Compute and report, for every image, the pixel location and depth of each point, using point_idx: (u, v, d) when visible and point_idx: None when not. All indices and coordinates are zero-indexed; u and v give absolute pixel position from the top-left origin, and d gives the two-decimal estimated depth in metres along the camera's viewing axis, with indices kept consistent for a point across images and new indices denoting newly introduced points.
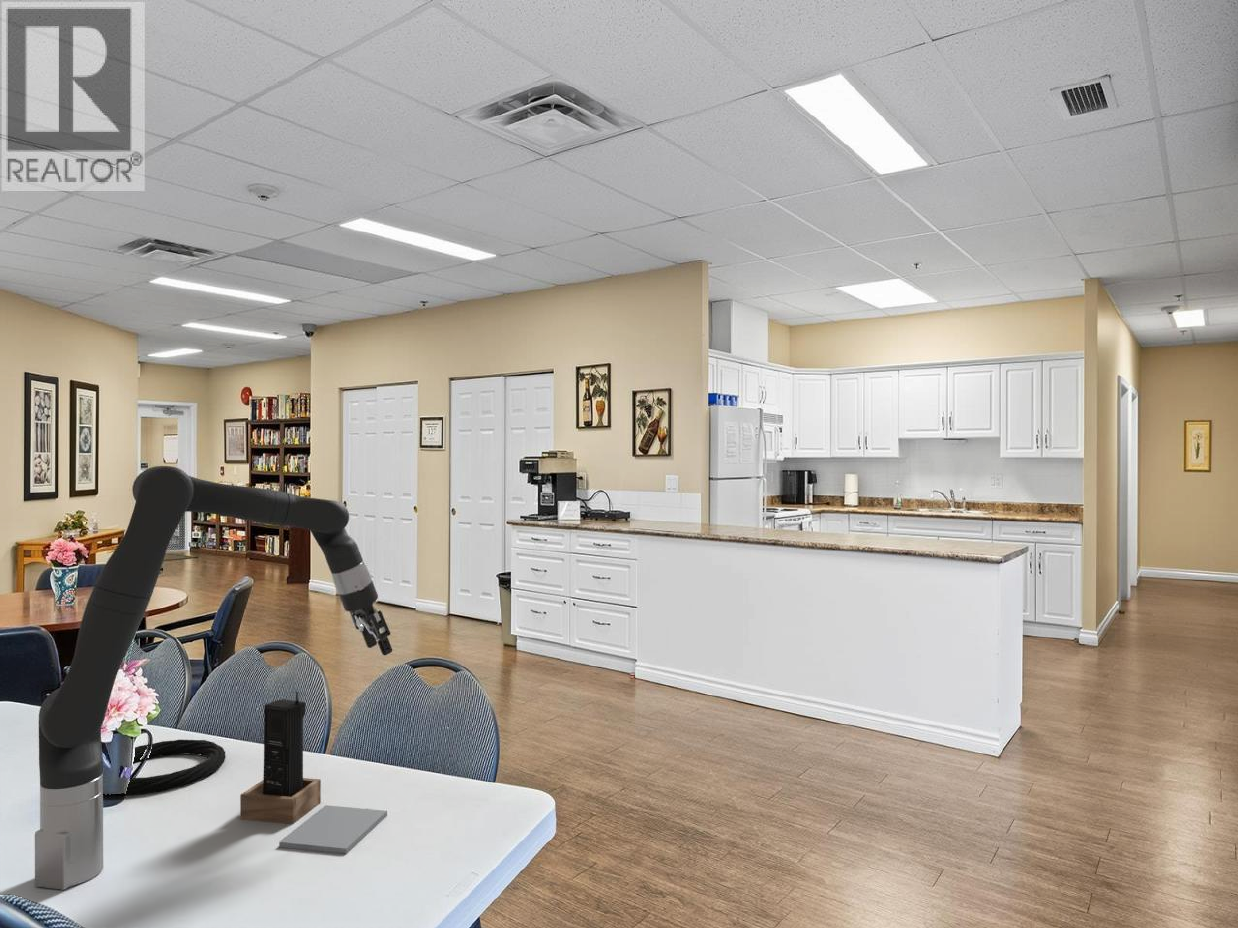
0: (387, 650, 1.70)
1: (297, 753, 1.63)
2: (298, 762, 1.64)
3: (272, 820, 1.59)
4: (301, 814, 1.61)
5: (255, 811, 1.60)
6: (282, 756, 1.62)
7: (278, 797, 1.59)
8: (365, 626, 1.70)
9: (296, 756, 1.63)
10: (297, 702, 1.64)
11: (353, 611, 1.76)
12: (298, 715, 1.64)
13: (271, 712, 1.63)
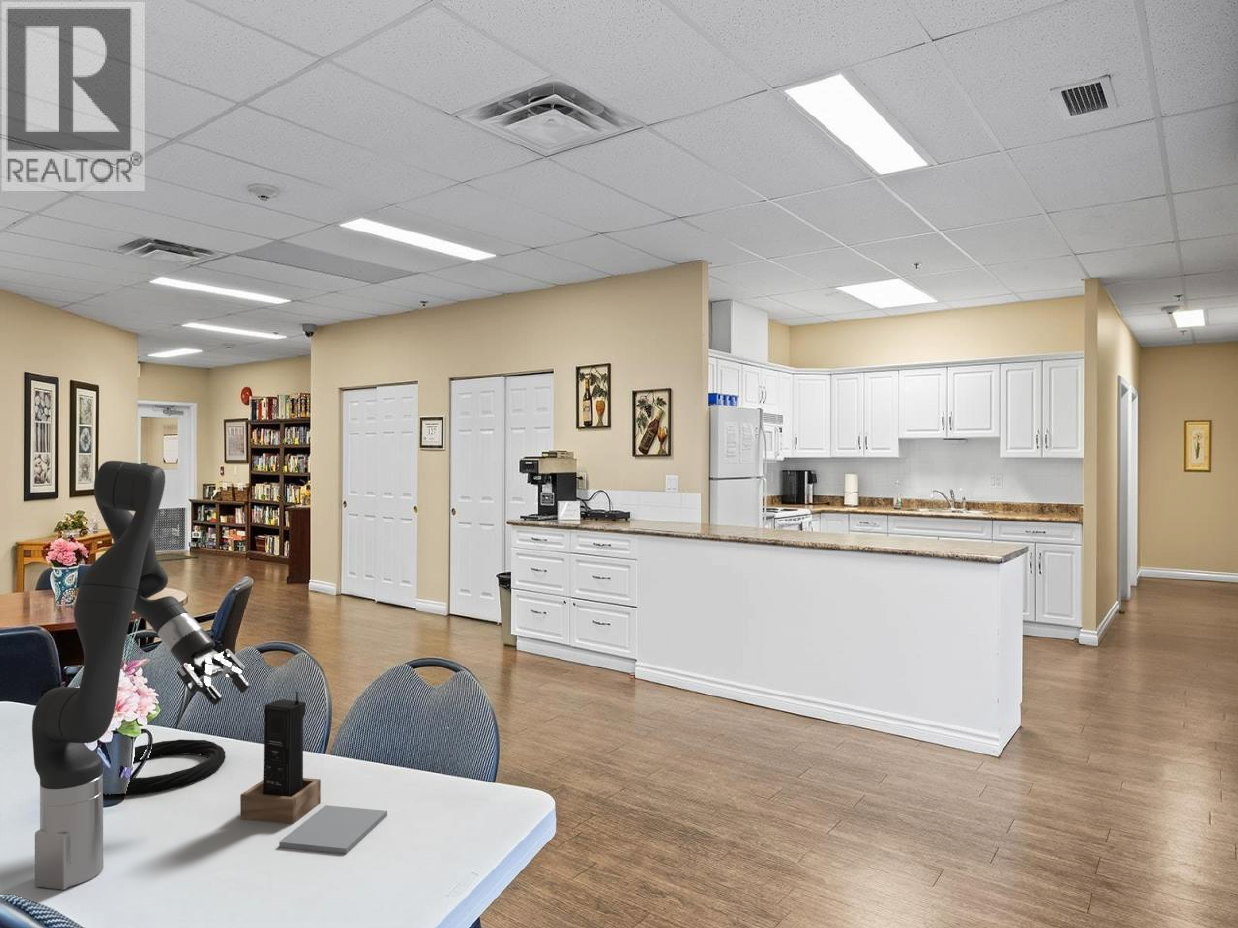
0: None
1: (297, 753, 1.63)
2: (298, 762, 1.64)
3: (272, 820, 1.59)
4: (301, 814, 1.61)
5: (255, 811, 1.60)
6: (282, 756, 1.62)
7: (278, 797, 1.59)
8: (223, 662, 1.69)
9: (296, 756, 1.63)
10: (297, 702, 1.64)
11: None
12: (298, 715, 1.64)
13: (271, 712, 1.63)
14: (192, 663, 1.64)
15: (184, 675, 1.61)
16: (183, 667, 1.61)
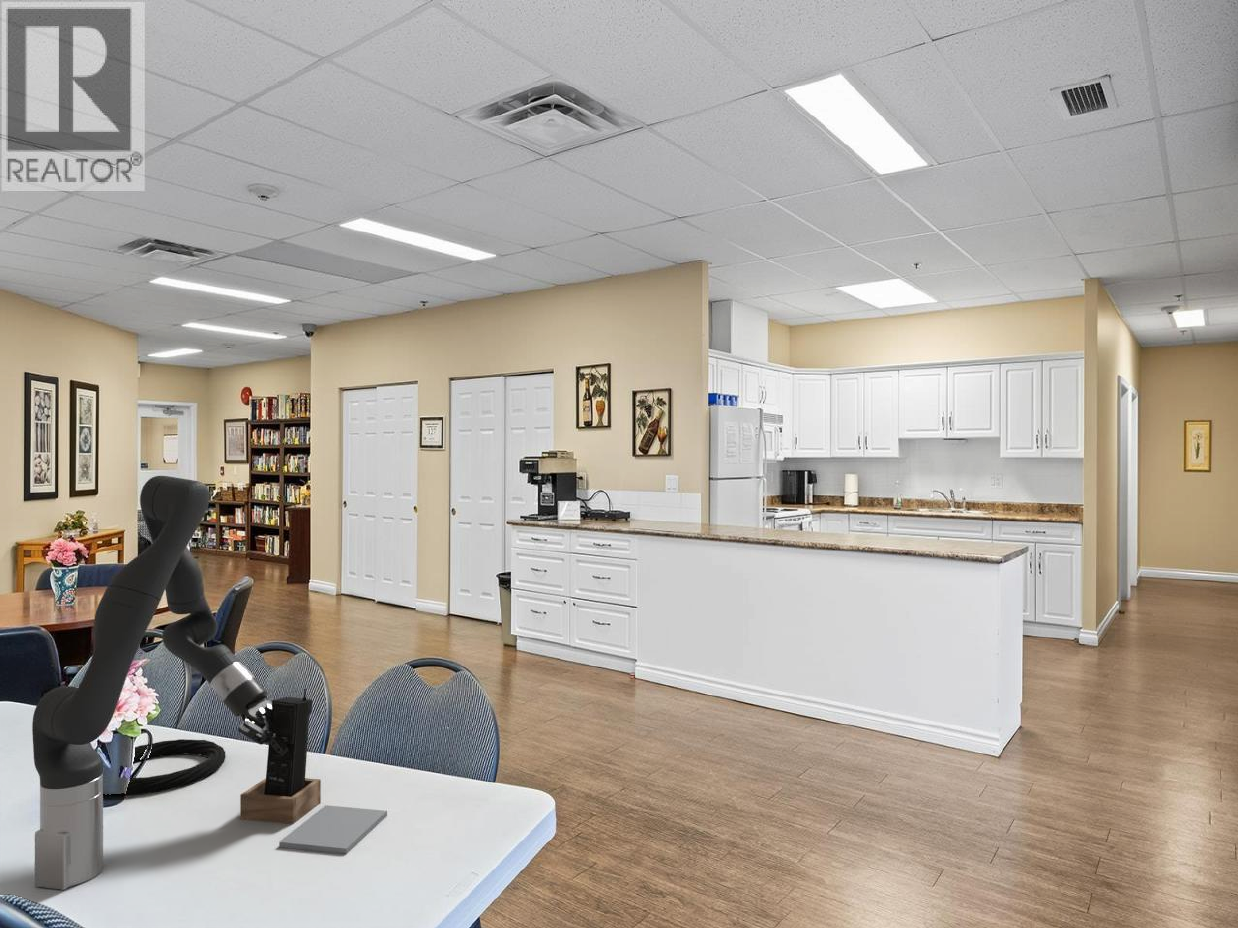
0: None
1: (301, 750, 1.64)
2: (302, 759, 1.65)
3: (272, 820, 1.59)
4: (301, 814, 1.61)
5: (255, 811, 1.60)
6: None
7: (278, 797, 1.59)
8: None
9: (300, 753, 1.64)
10: (305, 698, 1.66)
11: None
12: (305, 711, 1.65)
13: (278, 707, 1.65)
14: (248, 716, 1.61)
15: (248, 731, 1.59)
16: (246, 725, 1.59)
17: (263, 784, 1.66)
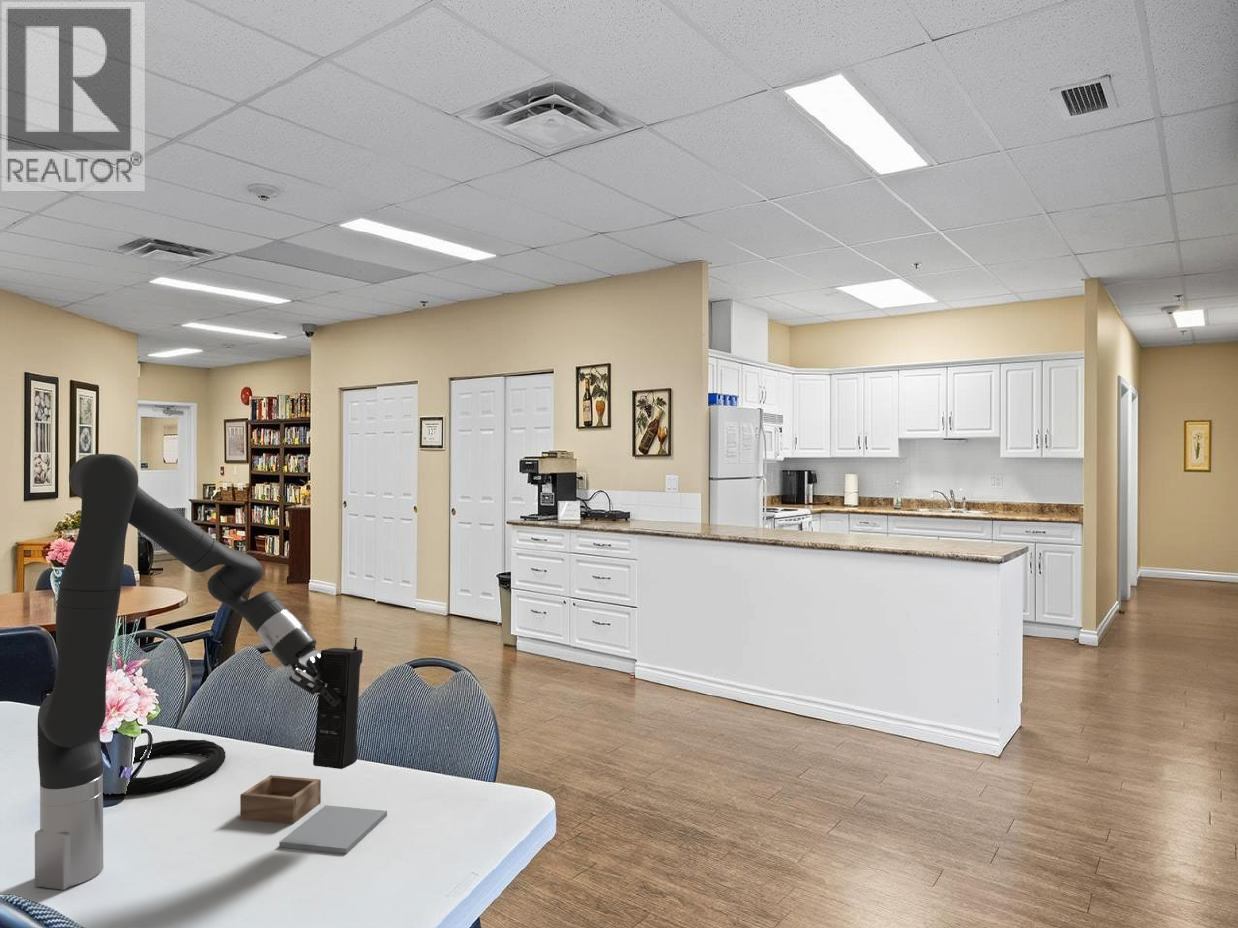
0: None
1: (353, 701, 1.57)
2: (354, 711, 1.57)
3: (272, 820, 1.59)
4: (301, 814, 1.61)
5: (255, 811, 1.60)
6: (339, 703, 1.55)
7: (278, 797, 1.59)
8: None
9: (353, 704, 1.57)
10: (356, 648, 1.58)
11: None
12: (356, 661, 1.58)
13: (328, 657, 1.57)
14: (299, 665, 1.53)
15: (300, 680, 1.51)
16: (298, 674, 1.50)
17: (263, 784, 1.66)
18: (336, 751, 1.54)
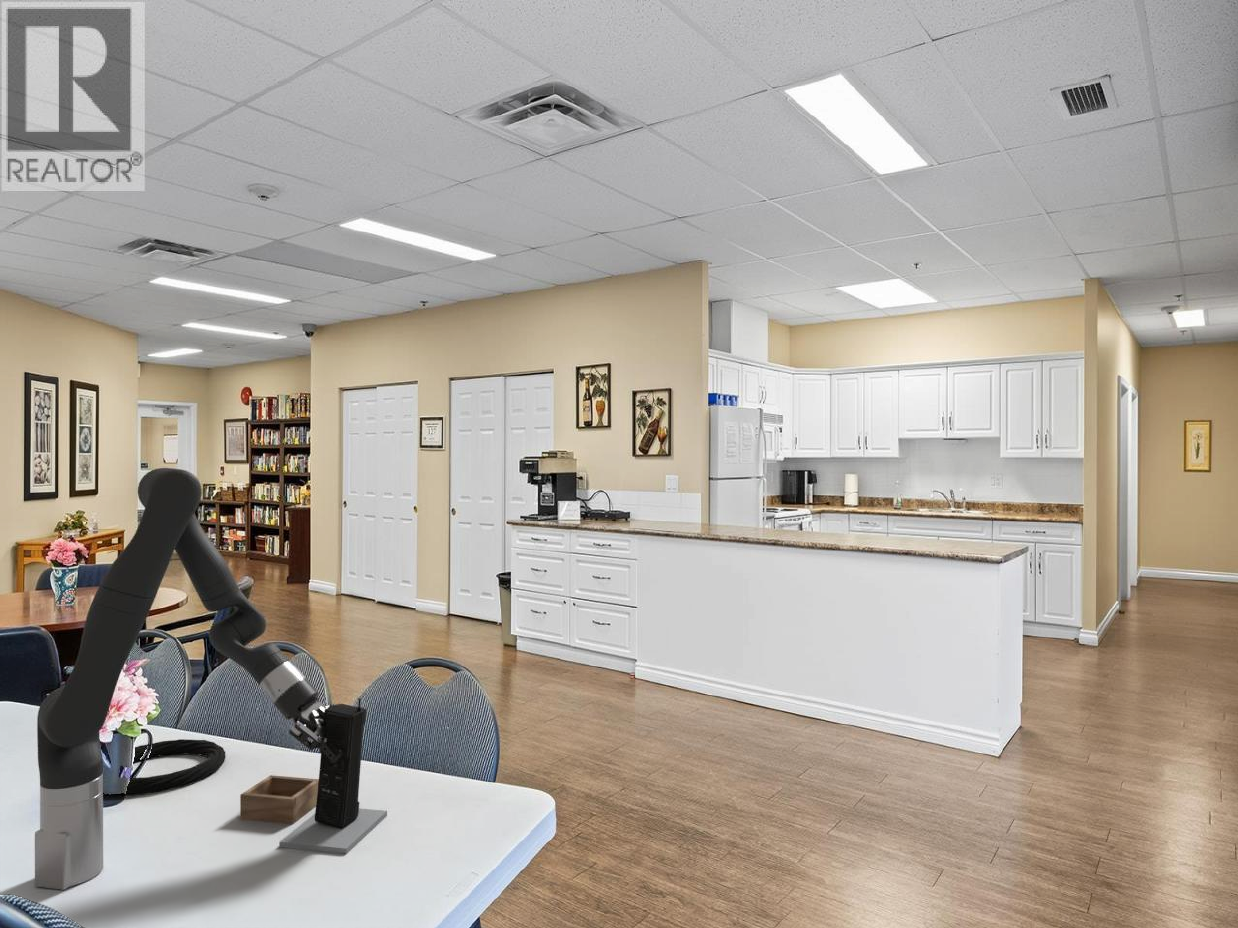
0: None
1: (356, 762, 1.56)
2: (356, 771, 1.57)
3: (272, 820, 1.59)
4: (301, 814, 1.61)
5: (255, 811, 1.60)
6: (342, 764, 1.54)
7: (278, 797, 1.59)
8: None
9: (355, 765, 1.56)
10: (359, 709, 1.56)
11: None
12: (360, 722, 1.56)
13: (332, 718, 1.55)
14: (300, 718, 1.52)
15: (299, 734, 1.50)
16: (297, 727, 1.50)
17: (263, 784, 1.66)
18: (337, 811, 1.54)
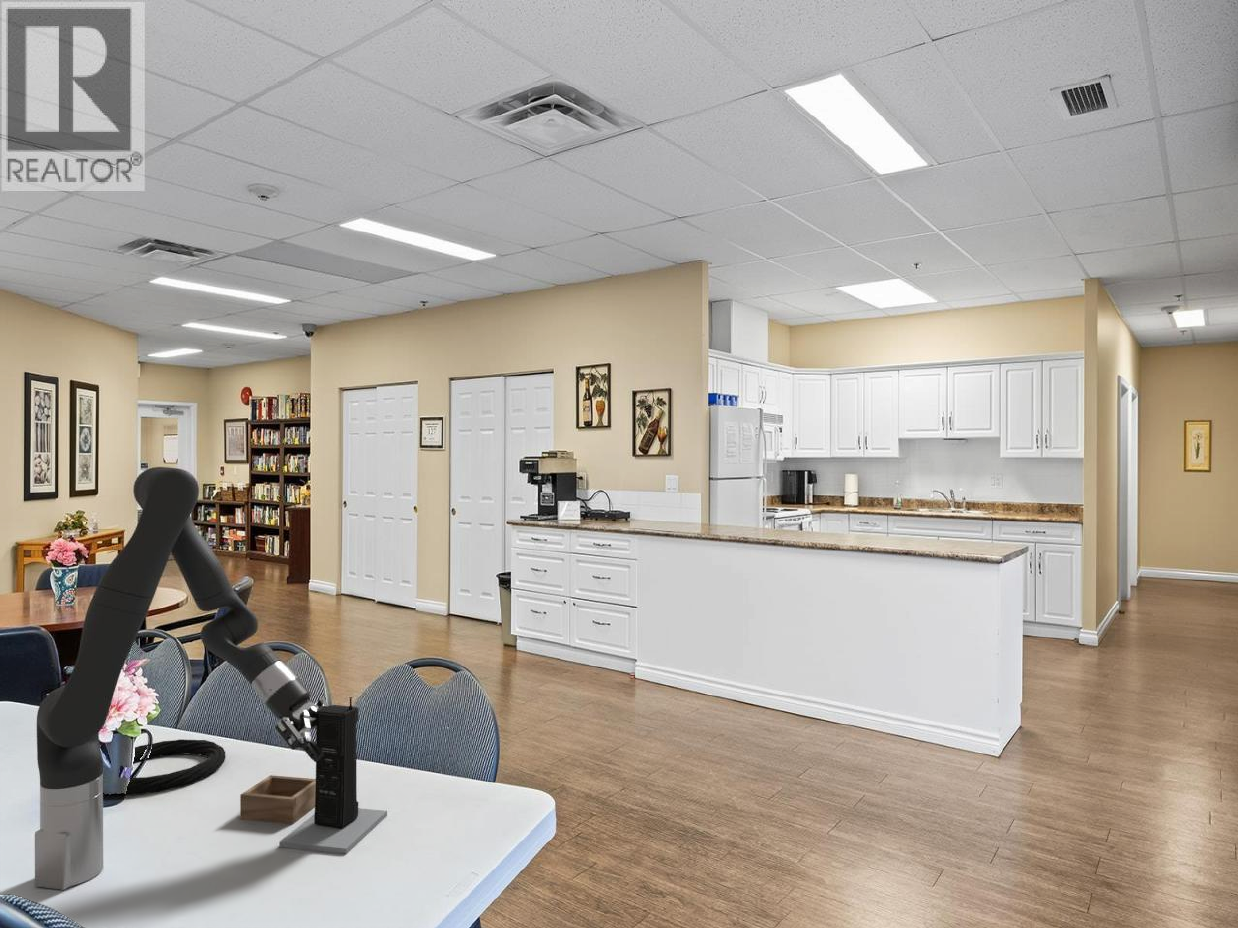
0: None
1: (351, 761, 1.57)
2: (352, 770, 1.57)
3: (272, 820, 1.59)
4: (301, 814, 1.61)
5: (255, 811, 1.60)
6: (337, 764, 1.55)
7: (278, 797, 1.59)
8: None
9: (351, 764, 1.56)
10: (351, 707, 1.57)
11: None
12: (352, 721, 1.57)
13: (324, 718, 1.56)
14: (290, 716, 1.53)
15: (284, 730, 1.50)
16: (283, 722, 1.50)
17: (263, 784, 1.66)
18: (336, 811, 1.54)
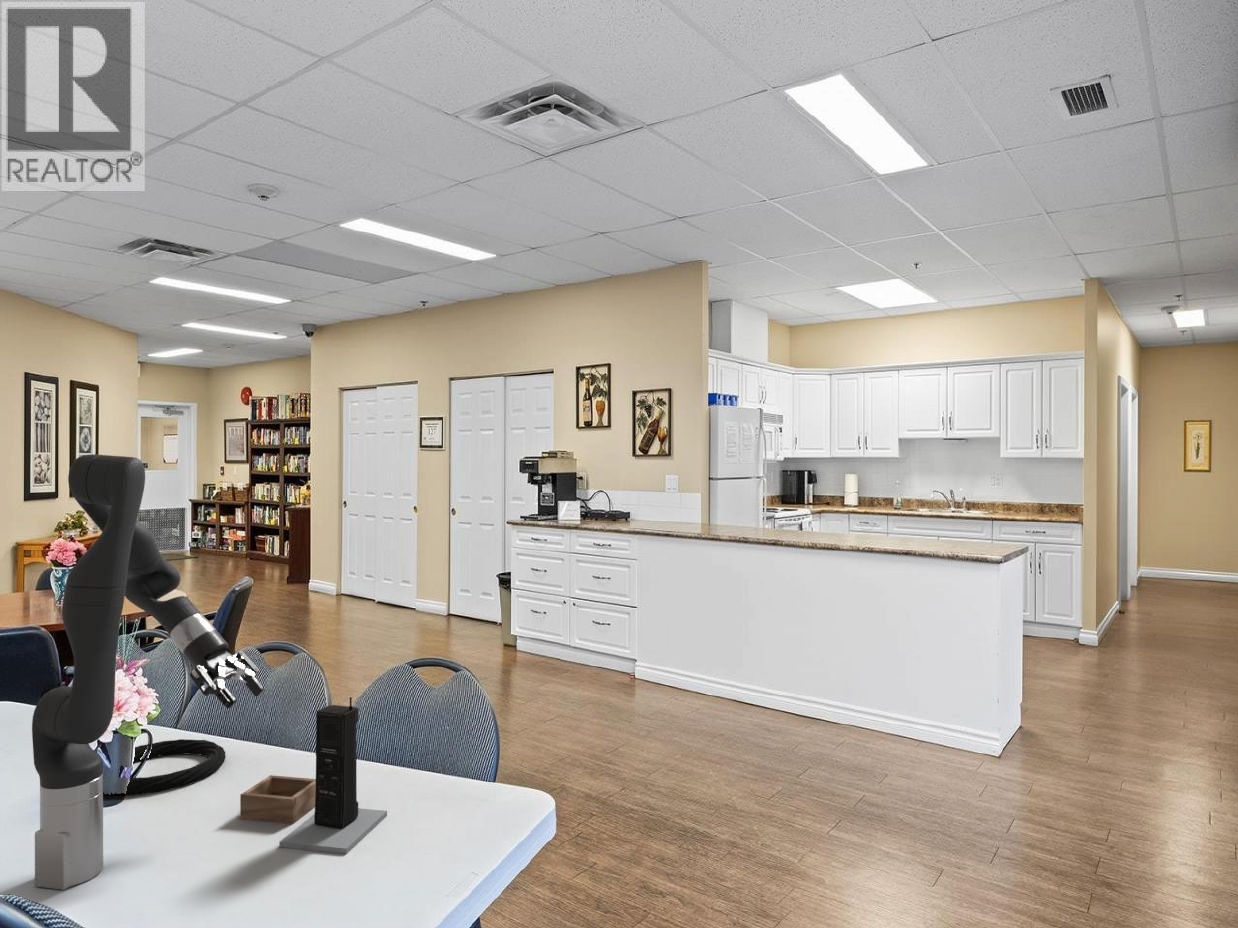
0: None
1: (351, 761, 1.57)
2: (352, 770, 1.57)
3: (272, 820, 1.59)
4: (301, 814, 1.61)
5: (255, 811, 1.60)
6: (337, 764, 1.55)
7: (278, 797, 1.59)
8: (237, 665, 1.64)
9: (351, 764, 1.56)
10: (351, 708, 1.57)
11: None
12: (352, 721, 1.57)
13: (324, 719, 1.56)
14: (205, 665, 1.59)
15: (197, 677, 1.56)
16: (196, 669, 1.56)
17: (263, 784, 1.66)
18: (336, 811, 1.54)
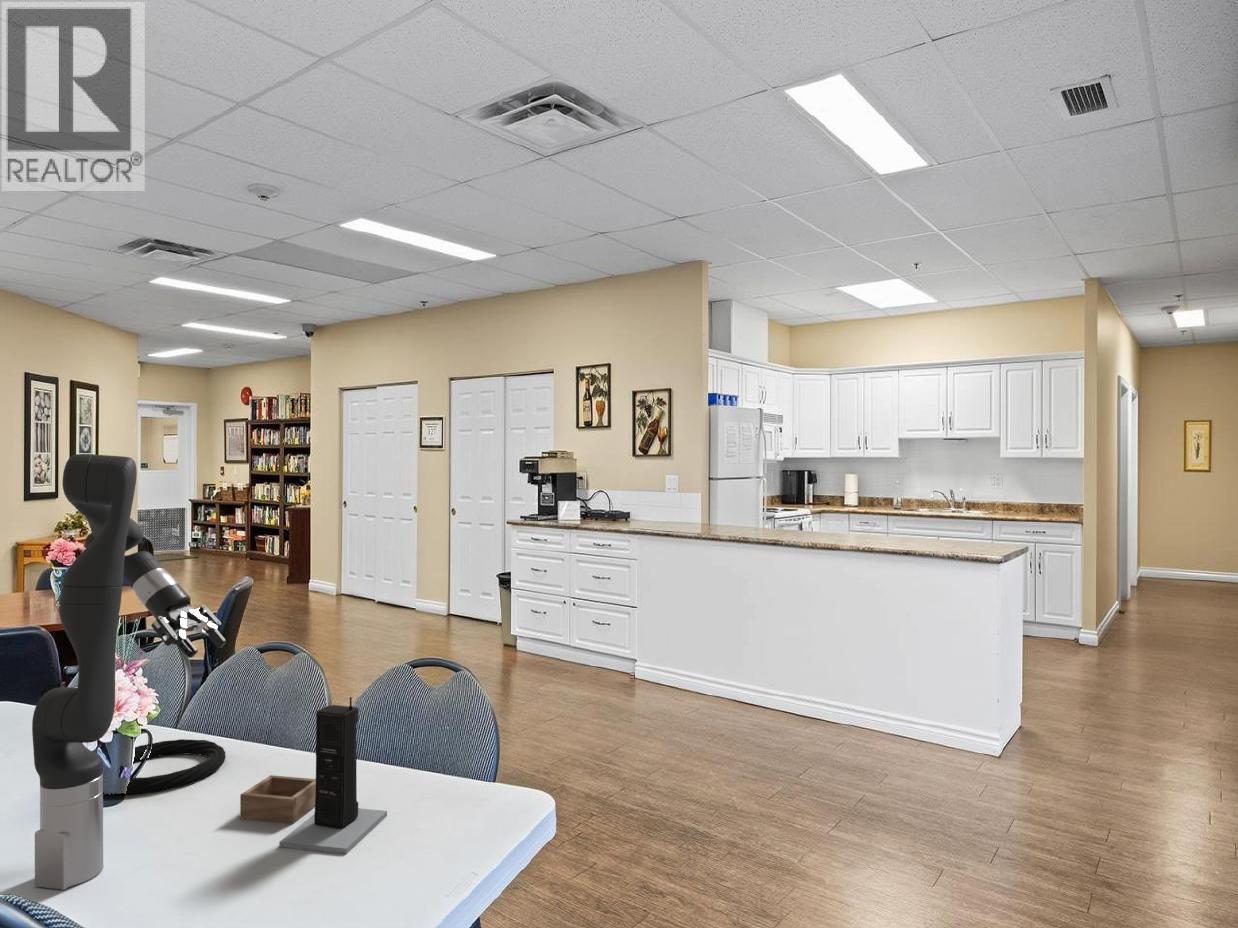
0: None
1: (351, 761, 1.57)
2: (352, 770, 1.57)
3: (272, 820, 1.59)
4: (301, 814, 1.61)
5: (255, 811, 1.60)
6: (337, 764, 1.55)
7: (278, 797, 1.59)
8: (199, 617, 1.68)
9: (351, 764, 1.56)
10: (351, 708, 1.57)
11: None
12: (352, 721, 1.57)
13: (324, 719, 1.56)
14: (167, 616, 1.62)
15: (159, 628, 1.60)
16: (158, 620, 1.60)
17: (263, 784, 1.66)
18: (336, 811, 1.54)
